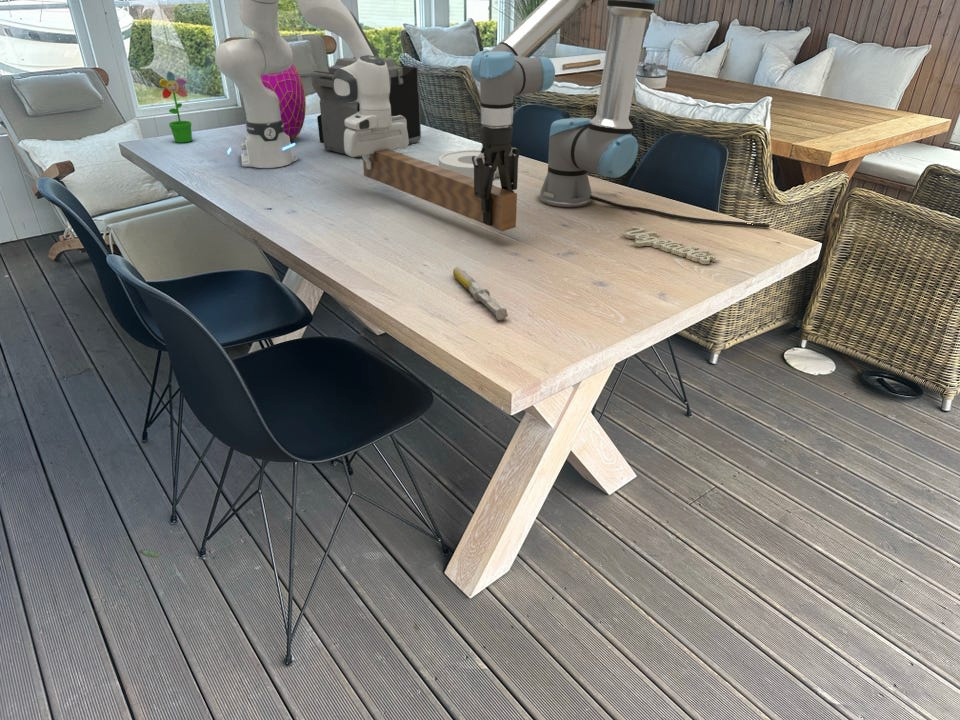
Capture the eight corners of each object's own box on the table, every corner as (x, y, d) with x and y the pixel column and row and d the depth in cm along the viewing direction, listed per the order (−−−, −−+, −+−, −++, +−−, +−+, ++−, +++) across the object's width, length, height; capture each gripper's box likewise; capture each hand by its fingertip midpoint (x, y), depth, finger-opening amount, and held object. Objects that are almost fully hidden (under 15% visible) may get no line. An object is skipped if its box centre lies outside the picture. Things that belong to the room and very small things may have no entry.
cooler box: (383, 133, 276) (378, 52, 261) (425, 141, 265) (422, 56, 250) (314, 150, 251) (304, 61, 235) (358, 160, 240) (350, 67, 224)
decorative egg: (293, 132, 276) (283, 50, 261) (319, 140, 264) (310, 56, 249) (249, 139, 265) (236, 54, 250) (273, 148, 253) (261, 60, 238)
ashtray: (441, 160, 240) (441, 149, 238) (507, 162, 240) (508, 150, 237) (436, 179, 220) (435, 167, 218) (508, 180, 220) (508, 168, 218)
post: (515, 227, 169) (517, 193, 165) (502, 231, 167) (503, 197, 162) (376, 172, 208) (374, 144, 204) (364, 175, 206) (361, 147, 201)
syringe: (449, 274, 155) (449, 263, 153) (465, 272, 156) (464, 260, 154) (490, 323, 135) (491, 310, 133) (508, 319, 136) (508, 307, 134)
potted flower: (172, 144, 257) (157, 72, 244) (170, 139, 263) (155, 69, 250) (199, 141, 260) (185, 71, 248) (196, 137, 266) (182, 68, 254)
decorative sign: (611, 234, 176) (635, 225, 181) (610, 237, 176) (634, 229, 182) (700, 264, 159) (723, 254, 164) (699, 268, 159) (723, 257, 165)
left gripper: (399, 112, 203) (401, 159, 210) (339, 120, 191) (343, 170, 199) (412, 115, 199) (413, 163, 206) (350, 124, 187) (354, 175, 194)
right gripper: (513, 117, 166) (511, 210, 178) (456, 127, 156) (458, 225, 168) (535, 122, 161) (531, 217, 173) (478, 133, 152) (478, 234, 164)
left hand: (378, 167), depth 202 cm, fingers closed on post, 4 cm apart
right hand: (495, 221), depth 171 cm, fingers closed on post, 5 cm apart
